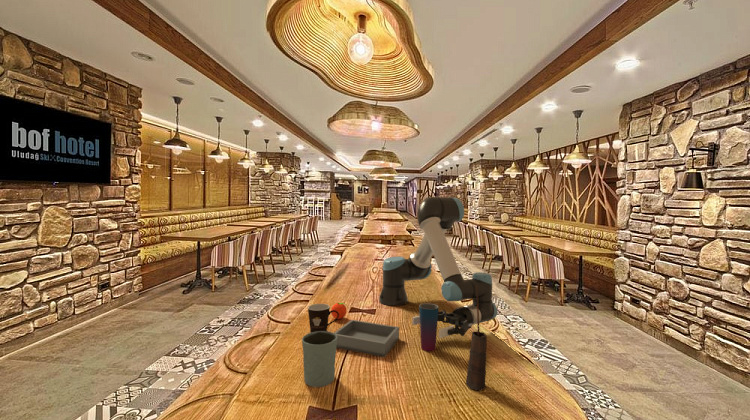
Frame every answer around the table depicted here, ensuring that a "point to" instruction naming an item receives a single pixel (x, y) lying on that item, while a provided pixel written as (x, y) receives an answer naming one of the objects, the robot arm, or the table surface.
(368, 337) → the tray
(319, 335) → the grey ceramic tumbler
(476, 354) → the butter churn
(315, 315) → the coffee mug
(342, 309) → the clementine
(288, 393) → the table surface
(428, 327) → the cup
